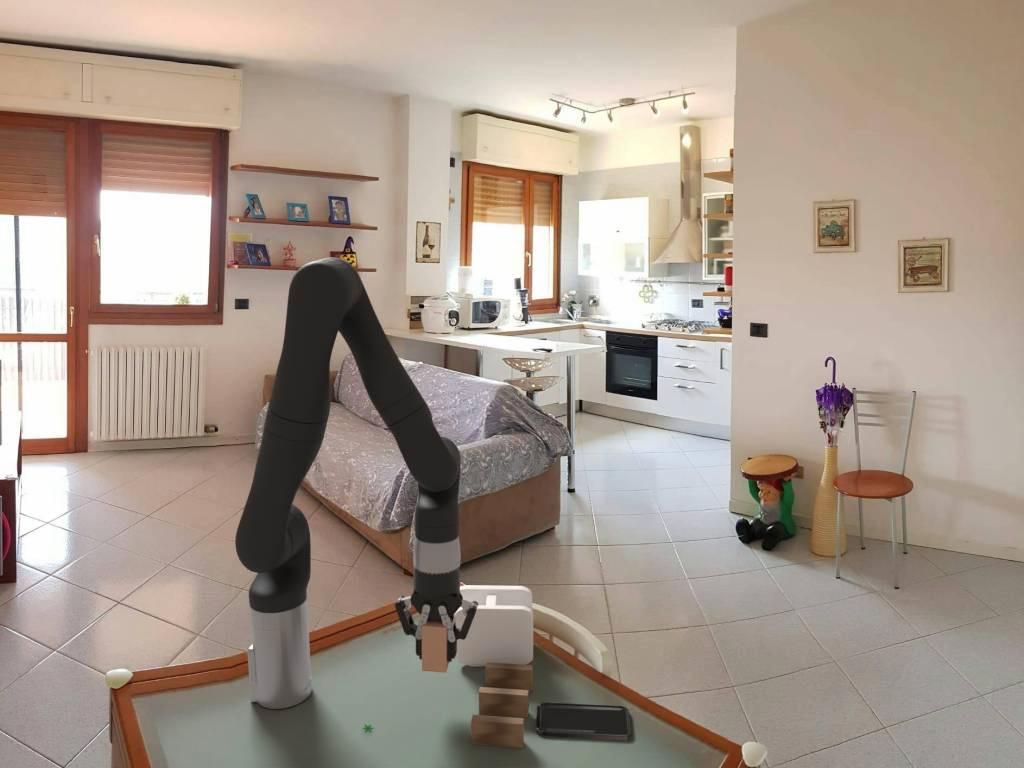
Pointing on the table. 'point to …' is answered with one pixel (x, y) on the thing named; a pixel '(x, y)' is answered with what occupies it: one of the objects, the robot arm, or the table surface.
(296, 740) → the table surface
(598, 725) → the phone
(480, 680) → the table surface
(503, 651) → the cable organizer
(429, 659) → the plug block
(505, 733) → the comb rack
